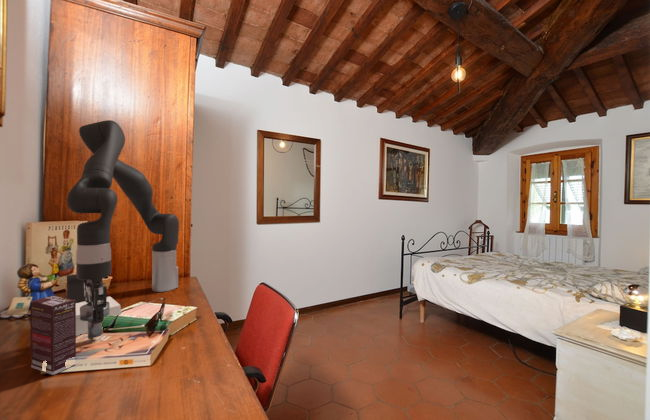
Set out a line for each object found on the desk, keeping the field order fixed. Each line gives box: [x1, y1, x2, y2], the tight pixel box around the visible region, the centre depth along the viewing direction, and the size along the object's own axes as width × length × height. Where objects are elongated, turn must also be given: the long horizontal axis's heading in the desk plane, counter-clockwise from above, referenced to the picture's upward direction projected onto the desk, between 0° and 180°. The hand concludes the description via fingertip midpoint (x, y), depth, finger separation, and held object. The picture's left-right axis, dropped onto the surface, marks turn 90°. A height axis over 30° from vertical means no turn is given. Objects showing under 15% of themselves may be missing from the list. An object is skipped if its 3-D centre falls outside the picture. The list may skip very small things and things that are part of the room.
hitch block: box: [76, 296, 122, 337], centre depth 88 cm, size 12×12×6 cm
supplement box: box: [29, 295, 77, 376], centre depth 66 cm, size 9×5×16 cm, turn 71°
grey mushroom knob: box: [80, 301, 109, 339], centre depth 79 cm, size 6×6×8 cm
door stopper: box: [66, 274, 86, 303], centre depth 102 cm, size 9×6×12 cm, turn 45°
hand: (95, 318), depth 79 cm, fingers closed on grey mushroom knob, 6 cm apart
